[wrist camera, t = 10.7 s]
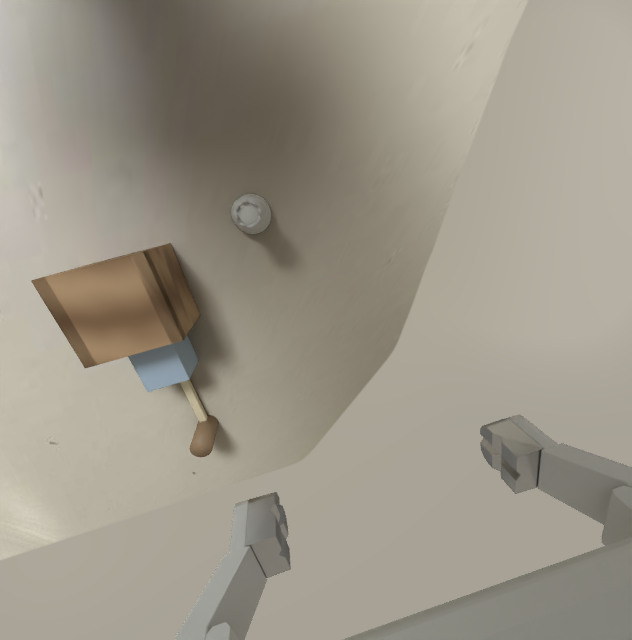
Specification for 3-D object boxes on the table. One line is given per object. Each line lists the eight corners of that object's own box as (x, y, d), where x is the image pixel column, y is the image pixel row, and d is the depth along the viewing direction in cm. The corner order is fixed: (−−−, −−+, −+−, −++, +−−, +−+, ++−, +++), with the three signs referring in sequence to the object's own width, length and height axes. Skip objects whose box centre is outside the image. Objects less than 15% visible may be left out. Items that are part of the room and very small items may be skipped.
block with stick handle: (145, 338, 37) (127, 355, 33) (183, 327, 38) (171, 342, 33) (195, 435, 43) (186, 462, 39) (228, 425, 44) (223, 450, 39)
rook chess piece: (272, 233, 36) (274, 238, 28) (235, 235, 35) (226, 240, 28) (269, 193, 34) (270, 187, 27) (230, 194, 33) (219, 188, 26)
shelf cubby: (84, 265, 34) (30, 280, 26) (170, 243, 34) (142, 251, 27) (122, 336, 37) (85, 368, 29) (200, 314, 37) (183, 340, 30)
